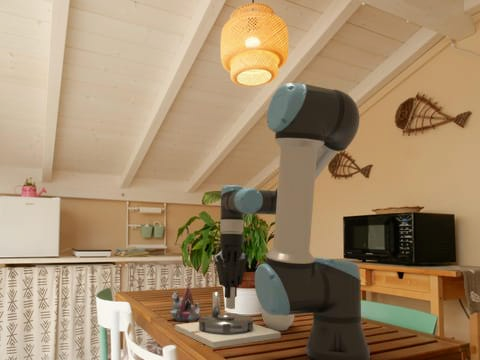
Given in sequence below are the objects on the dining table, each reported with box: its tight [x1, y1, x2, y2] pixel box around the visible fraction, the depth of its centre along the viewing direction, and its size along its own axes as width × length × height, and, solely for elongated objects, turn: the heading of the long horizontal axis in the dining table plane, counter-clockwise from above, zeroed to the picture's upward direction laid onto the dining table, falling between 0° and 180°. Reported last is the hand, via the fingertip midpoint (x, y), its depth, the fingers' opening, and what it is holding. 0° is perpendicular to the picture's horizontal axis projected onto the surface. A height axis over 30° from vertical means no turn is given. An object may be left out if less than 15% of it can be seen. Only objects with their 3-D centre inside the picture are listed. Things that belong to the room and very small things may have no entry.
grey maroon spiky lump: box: [167, 286, 202, 323], centre depth 143 cm, size 11×11×12 cm
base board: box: [174, 321, 282, 349], centre depth 122 cm, size 24×22×2 cm
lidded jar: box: [261, 307, 296, 332], centre depth 130 cm, size 11×11×9 cm
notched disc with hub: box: [198, 291, 254, 334], centre depth 123 cm, size 16×17×9 cm
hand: (230, 308), depth 131 cm, fingers closed
